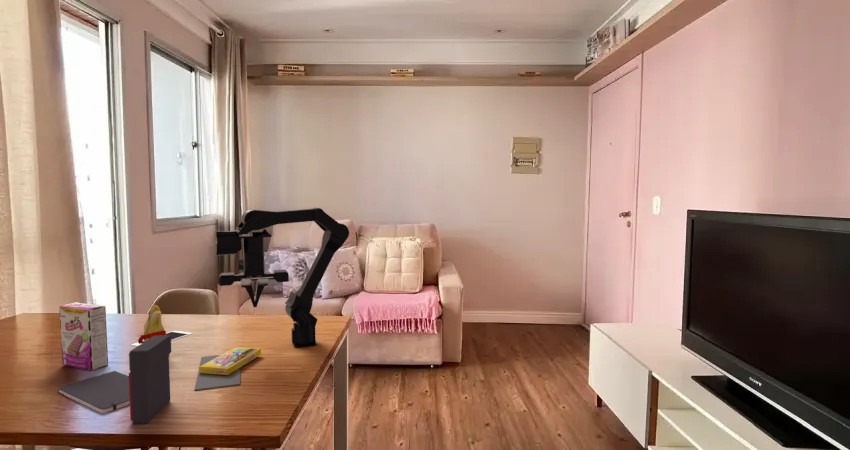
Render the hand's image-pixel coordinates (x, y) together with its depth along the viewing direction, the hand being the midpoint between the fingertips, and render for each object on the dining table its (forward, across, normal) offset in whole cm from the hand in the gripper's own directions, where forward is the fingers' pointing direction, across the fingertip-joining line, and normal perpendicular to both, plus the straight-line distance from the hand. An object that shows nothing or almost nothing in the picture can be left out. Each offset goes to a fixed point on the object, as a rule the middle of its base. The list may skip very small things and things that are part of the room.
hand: (255, 306), depth 143 cm
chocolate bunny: (+13, +27, -3) cm, 30 cm away
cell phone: (+14, +27, -22) cm, 37 cm away
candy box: (+12, +3, +12) cm, 17 cm away
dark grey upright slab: (+13, +22, +34) cm, 43 cm away
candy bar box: (+13, +43, -3) cm, 45 cm away
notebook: (+14, +33, +19) cm, 40 cm away
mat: (+13, +9, +13) cm, 21 cm away
